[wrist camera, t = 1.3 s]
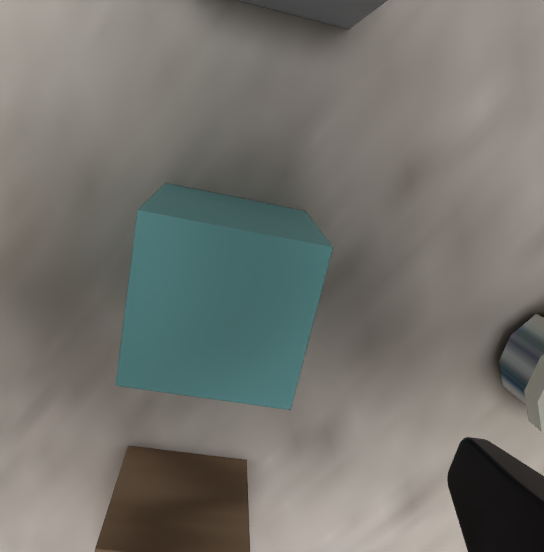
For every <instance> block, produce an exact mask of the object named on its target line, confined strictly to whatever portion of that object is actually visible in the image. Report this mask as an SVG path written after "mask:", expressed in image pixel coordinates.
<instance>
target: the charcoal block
mask: <svg viewBox="0 0 544 552" xmlns="http://www.w3.org/2000/svg"><path fill="white" fill-rule="evenodd" d="M238 1H242V2H246V3H250V4H254V5H258V6H261V7H265V8H269V9H273V10H277V11H281V12H285V13H288V14H292V15H296V16H300V17H304V18H308V19H311V20H315V21H319V22H323V23H327V24H331V25H335V26H338V27H342V28H346V29H350V28H351V27H352V26H354V25H355V24H356V23H358V22H359V21H360V20H362V19H363V18H364V17H366V16H367V15H368V14H370V13H371V12H372V11H374V10H375V9H376V8H378V7H379V6H380V5H382V4H383V3H384V2H386V1H387V0H238Z"/></svg>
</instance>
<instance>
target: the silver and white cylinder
mask: <svg viewBox="0 0 544 552" xmlns="http://www.w3.org/2000/svg"><path fill="white" fill-rule="evenodd" d="M499 366H500V372H501V377H502V383H503V386H504V387H505V388H506V389H507V390H509V391H510V392H511V393H512V394H513V395H515V396H516V397H517V398H518V399H519V400H520V401H522V402H523V403H524V404H525V405H526V406H527V412H528V419H529V421H530V422H531V423H532V424H533V425H534V426H536V427H537V428H538V429H539V430H540V431H541V432H542V433H544V317H541V316H540V315H538V314H535V315H534V316H533V317H532V318H531V319H529V320H528V321H527V322H526V323H525V324H523V325H522V326H521V327H520V328H519V329H517V330H516V331H515V332H514V333H513V334H511V336H510V338H509V340H508V342H507V344H506V347H505V349H504V351H503V353H502V355H501V358H500V360H499Z"/></svg>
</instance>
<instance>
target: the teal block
mask: <svg viewBox="0 0 544 552" xmlns="http://www.w3.org/2000/svg"><path fill="white" fill-rule="evenodd" d="M332 249H333V247H332V245H331V244H330V243H329V241H328V240H327V239H326V237H325V236H324V235H323V234H322V232H321V231H320V230H319V228H318V227H317V226H316V224H315V223H314V222H313V220H312V219H311V218H310V216H309V215H308V214H307V212H306V211H302V210H297V209H292V208H287V207H282V206H277V205H272V204H267V203H262V202H257V201H252V200H247V199H242V198H237V197H232V196H227V195H222V194H217V193H212V192H207V191H202V190H197V189H192V188H187V187H182V186H177V185H172V184H167V183H165V184H164V185H163V186H162V187H161V188H160V189H159V190H158V191H157V192H156V193H155V194H154V195H153V196H152V197H151V198H150V199H149V200H148V201H147V202H146V203H145V204H143V205H142V206H141V207H140V208H139V209H138V212H137V220H136V228H135V236H134V244H133V251H132V259H131V267H130V275H129V283H128V291H127V299H126V307H125V315H124V323H123V331H122V339H121V347H120V355H119V363H118V371H117V378H116V386H122V387H129V388H136V389H143V390H150V391H158V392H165V393H172V394H179V395H186V396H194V397H201V398H208V399H215V400H223V401H230V402H237V403H244V404H251V405H259V406H266V407H273V408H280V409H288V410H291V406H292V402H293V398H294V395H295V391H296V387H297V383H298V379H299V375H300V372H301V368H302V364H303V360H304V356H305V353H306V349H307V345H308V341H309V337H310V333H311V330H312V326H313V322H314V318H315V314H316V310H317V307H318V303H319V299H320V295H321V291H322V287H323V284H324V280H325V276H326V272H327V268H328V264H329V261H330V257H331V253H332Z"/></svg>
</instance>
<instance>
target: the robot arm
mask: <svg viewBox="0 0 544 552" xmlns="http://www.w3.org/2000/svg"><path fill="white" fill-rule="evenodd" d="M448 487H449V490H450V494H451V497H452V500H453V504H454V507H455V510H456V514H457V517H458V520H459V524H460V527H461V530H462V533H463V537H464V540H465V543H466V547H467V550H468V552H544V476H542V475H541V474H539V473H538V472H536V471H535V470H533V469H532V468H530V467H528V466H527V465H525V464H524V463H522V462H521V461H519V460H517V459H516V458H514V457H513V456H511V455H510V454H508V453H507V452H505V451H503V450H502V449H500V448H499V447H497V446H496V445H494V444H492V443H491V442H489V441H487V440H485V439H478V438H471V437H466V438H464V439H463V440H462V441H461V442H460V444H459V446H458V449H457V451H456V454H455V456H454V459H453V461H452V464H451V466H450V469H449V472H448Z"/></svg>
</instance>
